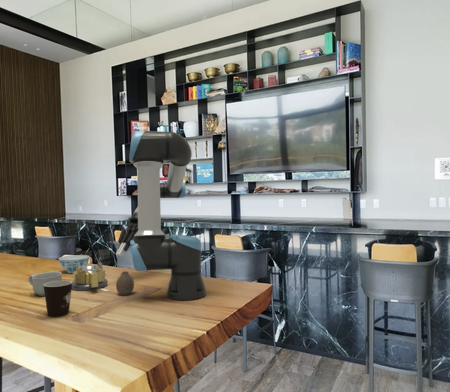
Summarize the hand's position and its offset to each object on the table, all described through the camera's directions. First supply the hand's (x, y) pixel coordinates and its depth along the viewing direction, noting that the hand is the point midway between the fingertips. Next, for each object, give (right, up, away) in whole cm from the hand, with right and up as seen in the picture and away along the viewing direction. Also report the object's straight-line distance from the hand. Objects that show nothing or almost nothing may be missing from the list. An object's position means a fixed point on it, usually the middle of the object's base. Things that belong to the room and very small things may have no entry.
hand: (119, 256), depth 159 cm
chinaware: (-32, -13, +28) cm, 44 cm away
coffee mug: (-7, -12, -40) cm, 42 cm away
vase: (+8, -12, -17) cm, 23 cm away
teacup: (-26, -13, -15) cm, 33 cm away
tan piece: (-10, -10, -8) cm, 16 cm away
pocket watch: (-15, -13, +12) cm, 23 cm away
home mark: (-3, -12, -12) cm, 17 cm away
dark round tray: (-12, -13, -4) cm, 18 cm away
